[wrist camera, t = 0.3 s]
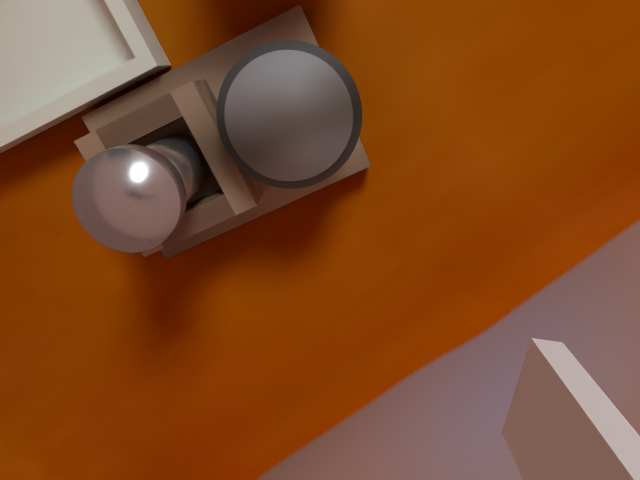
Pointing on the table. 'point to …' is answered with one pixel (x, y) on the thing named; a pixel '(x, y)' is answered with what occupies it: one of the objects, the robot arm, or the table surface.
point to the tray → (68, 60)
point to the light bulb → (138, 191)
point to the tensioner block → (245, 125)
